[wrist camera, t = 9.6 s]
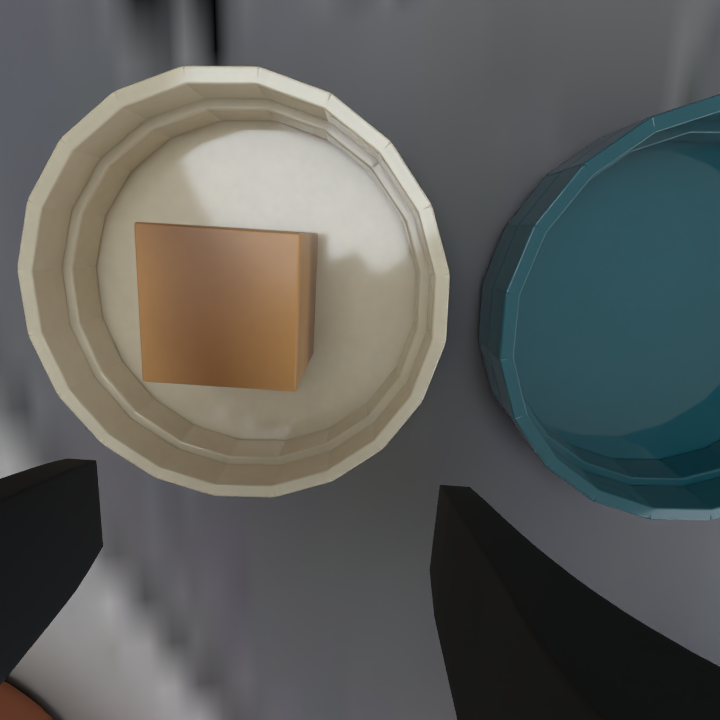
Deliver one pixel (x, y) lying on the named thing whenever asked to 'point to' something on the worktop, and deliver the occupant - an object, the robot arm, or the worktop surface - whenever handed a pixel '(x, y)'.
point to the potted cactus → (19, 705)
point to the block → (225, 305)
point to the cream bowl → (239, 210)
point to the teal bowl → (618, 317)
